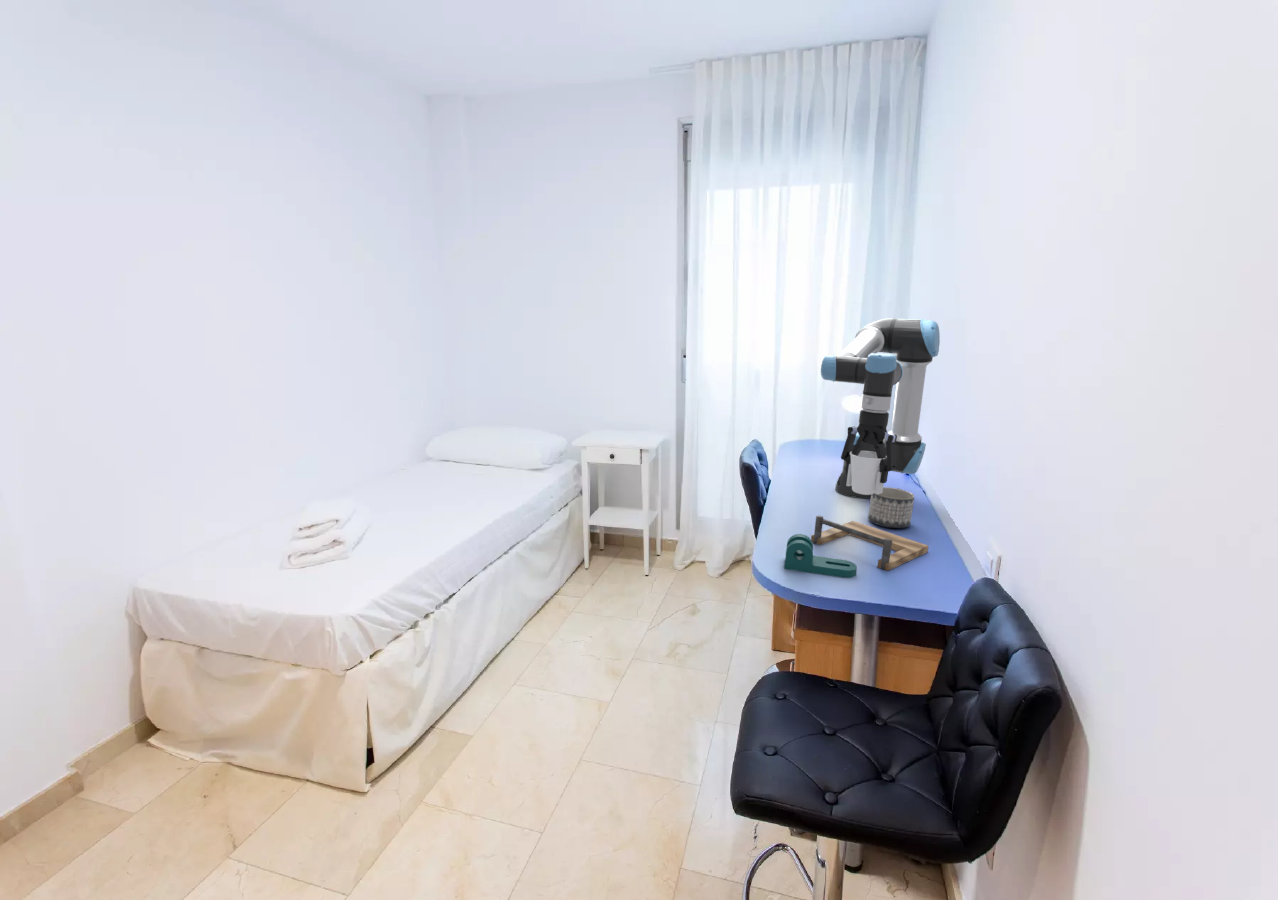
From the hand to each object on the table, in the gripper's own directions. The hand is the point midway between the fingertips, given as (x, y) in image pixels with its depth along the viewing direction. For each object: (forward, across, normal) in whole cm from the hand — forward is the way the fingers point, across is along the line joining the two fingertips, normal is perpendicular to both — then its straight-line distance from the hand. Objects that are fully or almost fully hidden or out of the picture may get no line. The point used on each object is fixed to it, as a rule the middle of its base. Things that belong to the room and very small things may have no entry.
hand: (863, 489), depth 171 cm
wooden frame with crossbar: (+17, +3, +2) cm, 17 cm away
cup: (+1, 0, 0) cm, 1 cm away
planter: (+17, -5, +26) cm, 31 cm away
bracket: (+18, +4, -23) cm, 29 cm away
